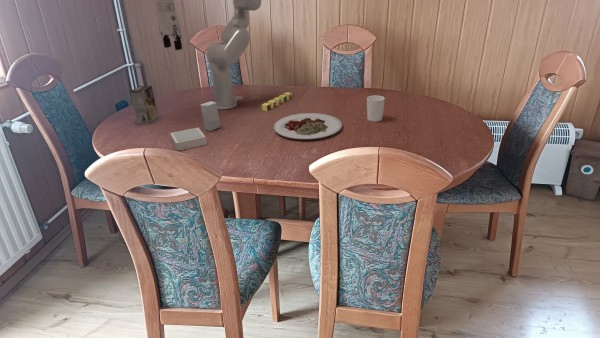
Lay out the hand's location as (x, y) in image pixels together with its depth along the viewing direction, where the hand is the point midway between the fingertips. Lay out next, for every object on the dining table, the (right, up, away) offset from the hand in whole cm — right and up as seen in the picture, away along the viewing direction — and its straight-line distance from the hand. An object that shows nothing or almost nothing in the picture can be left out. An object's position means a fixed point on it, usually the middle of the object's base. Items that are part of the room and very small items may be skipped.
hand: (173, 48), depth 182 cm
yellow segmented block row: (+48, -21, +28) cm, 59 cm away
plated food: (+61, -37, -3) cm, 71 cm away
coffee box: (-17, -31, +15) cm, 38 cm away
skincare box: (+17, -36, +1) cm, 40 cm away
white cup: (+92, -32, +3) cm, 97 cm away
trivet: (+10, -44, -11) cm, 46 cm away
